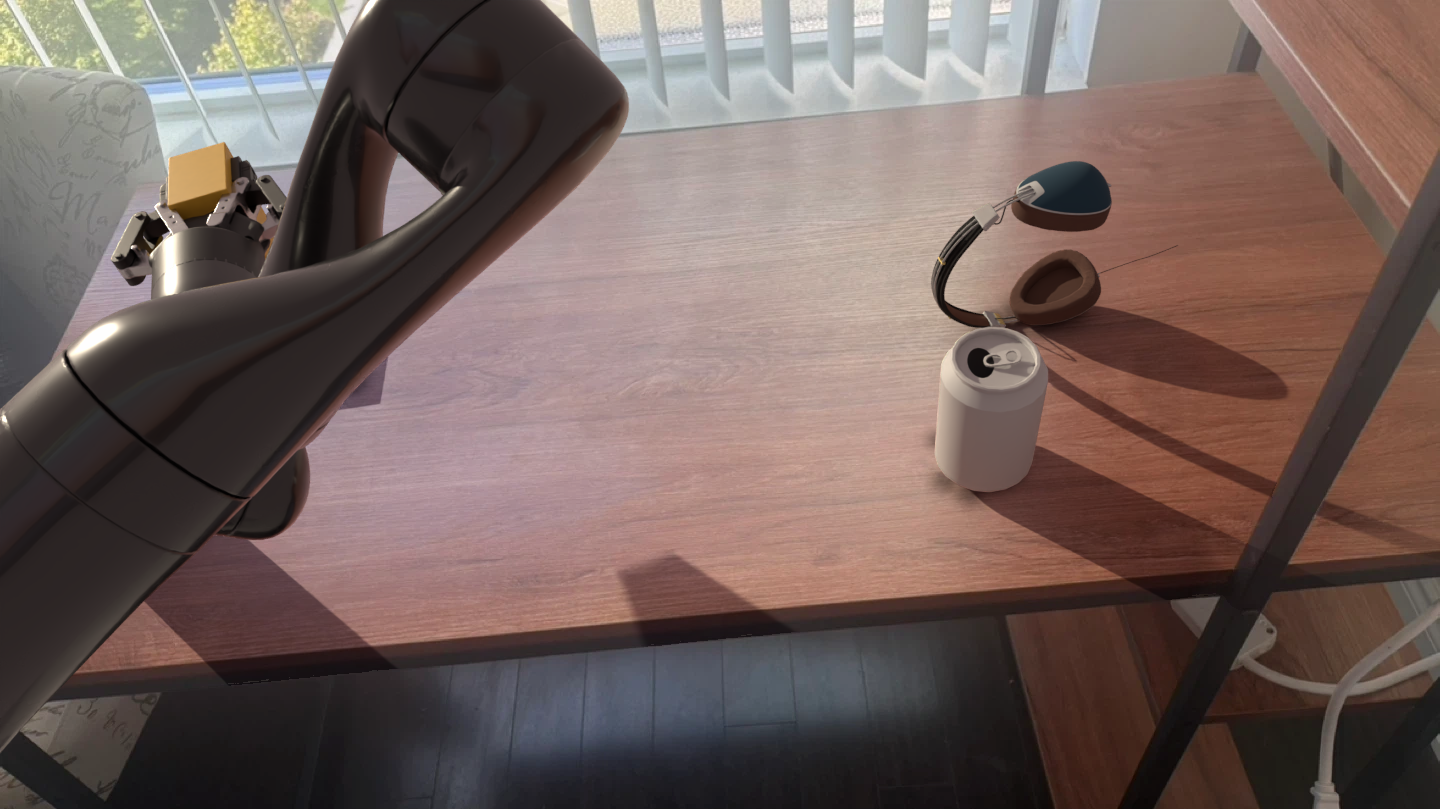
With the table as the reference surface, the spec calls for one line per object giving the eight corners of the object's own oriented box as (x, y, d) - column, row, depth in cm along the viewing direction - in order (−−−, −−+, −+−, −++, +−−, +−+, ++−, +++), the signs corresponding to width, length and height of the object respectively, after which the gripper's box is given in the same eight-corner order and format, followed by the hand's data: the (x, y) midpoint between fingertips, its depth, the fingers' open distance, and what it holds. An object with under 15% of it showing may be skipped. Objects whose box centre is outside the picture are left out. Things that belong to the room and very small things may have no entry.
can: (929, 425, 83) (936, 320, 74) (1023, 421, 82) (1042, 315, 73) (938, 500, 78) (947, 398, 69) (1038, 497, 77) (1060, 393, 68)
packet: (229, 302, 84) (167, 206, 77) (227, 252, 89) (168, 157, 81) (283, 285, 85) (226, 188, 78) (279, 237, 90) (224, 141, 82)
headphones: (1154, 248, 92) (923, 324, 92) (1177, 108, 80) (913, 194, 80) (1191, 293, 88) (949, 372, 88) (1221, 152, 76) (942, 243, 76)
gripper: (289, 233, 70) (275, 110, 81) (76, 298, 68) (92, 162, 79) (332, 312, 76) (314, 186, 87) (137, 373, 74) (144, 237, 85)
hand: (208, 175), depth 83 cm, fingers closed on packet, 4 cm apart
